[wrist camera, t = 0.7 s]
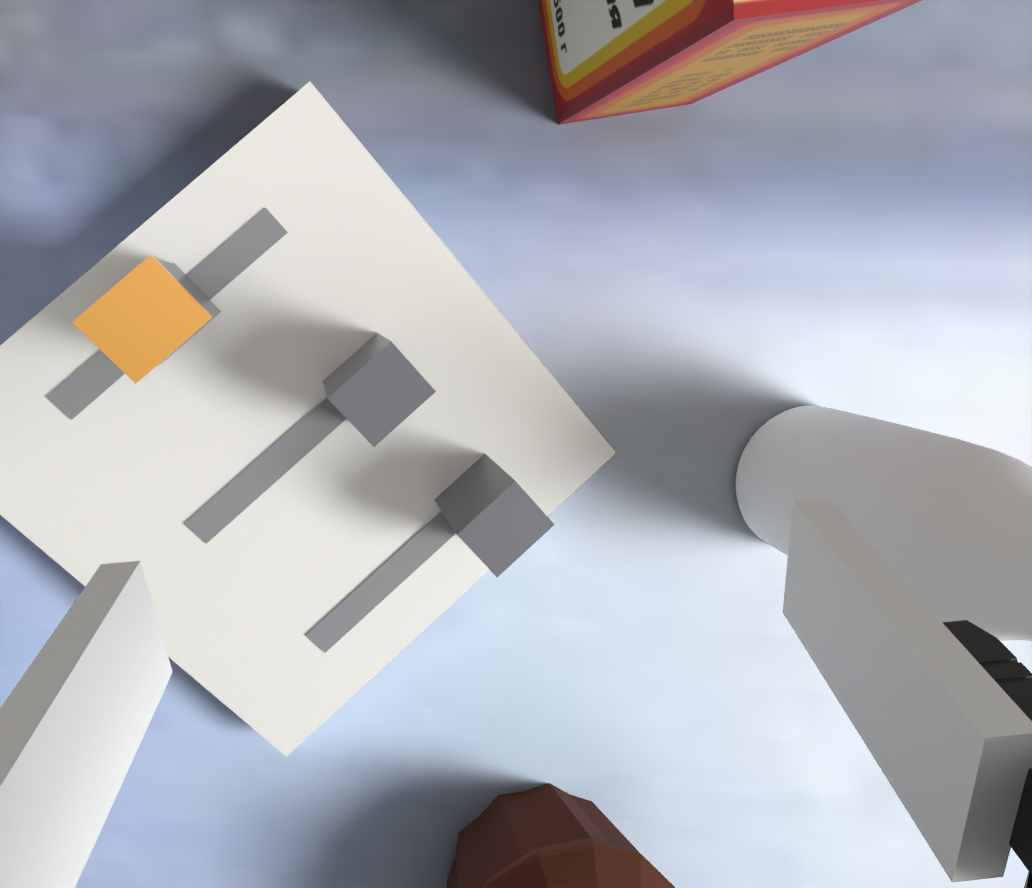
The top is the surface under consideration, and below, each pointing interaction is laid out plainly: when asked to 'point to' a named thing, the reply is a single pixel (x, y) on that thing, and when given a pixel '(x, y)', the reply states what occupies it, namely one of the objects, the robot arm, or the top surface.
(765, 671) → the top surface
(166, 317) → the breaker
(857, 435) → the milk bottle
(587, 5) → the baking soda box
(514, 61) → the top surface
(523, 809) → the muffin
